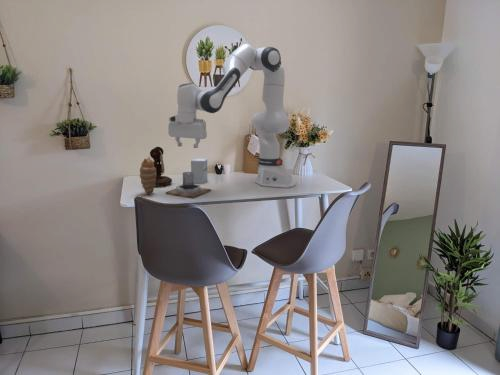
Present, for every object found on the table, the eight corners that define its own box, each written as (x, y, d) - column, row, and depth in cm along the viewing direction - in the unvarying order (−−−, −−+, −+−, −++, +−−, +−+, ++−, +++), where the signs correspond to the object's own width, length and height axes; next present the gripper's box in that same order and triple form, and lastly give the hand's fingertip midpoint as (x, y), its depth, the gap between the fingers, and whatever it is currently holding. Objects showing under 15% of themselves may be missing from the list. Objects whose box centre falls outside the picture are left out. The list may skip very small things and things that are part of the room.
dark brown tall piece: (169, 188, 206) (167, 149, 201) (140, 187, 206) (138, 149, 201) (174, 181, 220) (173, 145, 215) (147, 181, 220) (146, 145, 215)
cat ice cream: (145, 191, 198) (143, 155, 194) (160, 192, 197) (158, 156, 192) (137, 195, 190) (135, 158, 185) (152, 197, 188) (151, 159, 184)
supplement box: (203, 183, 216) (203, 161, 213) (190, 183, 217) (190, 160, 214) (207, 180, 223) (207, 158, 220) (195, 180, 224) (195, 158, 221)
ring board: (210, 191, 201) (210, 185, 200) (192, 198, 187) (192, 192, 186) (184, 187, 208) (184, 181, 207) (165, 194, 194) (165, 188, 193)
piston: (196, 190, 198) (196, 172, 196) (190, 192, 194) (189, 174, 191) (187, 188, 201) (186, 171, 199) (180, 191, 196) (180, 173, 194)
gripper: (209, 118, 187) (209, 147, 190) (173, 116, 195) (174, 144, 199) (201, 119, 181) (202, 149, 185) (165, 117, 190) (166, 146, 193)
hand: (187, 147), depth 192 cm, fingers open, 8 cm apart
